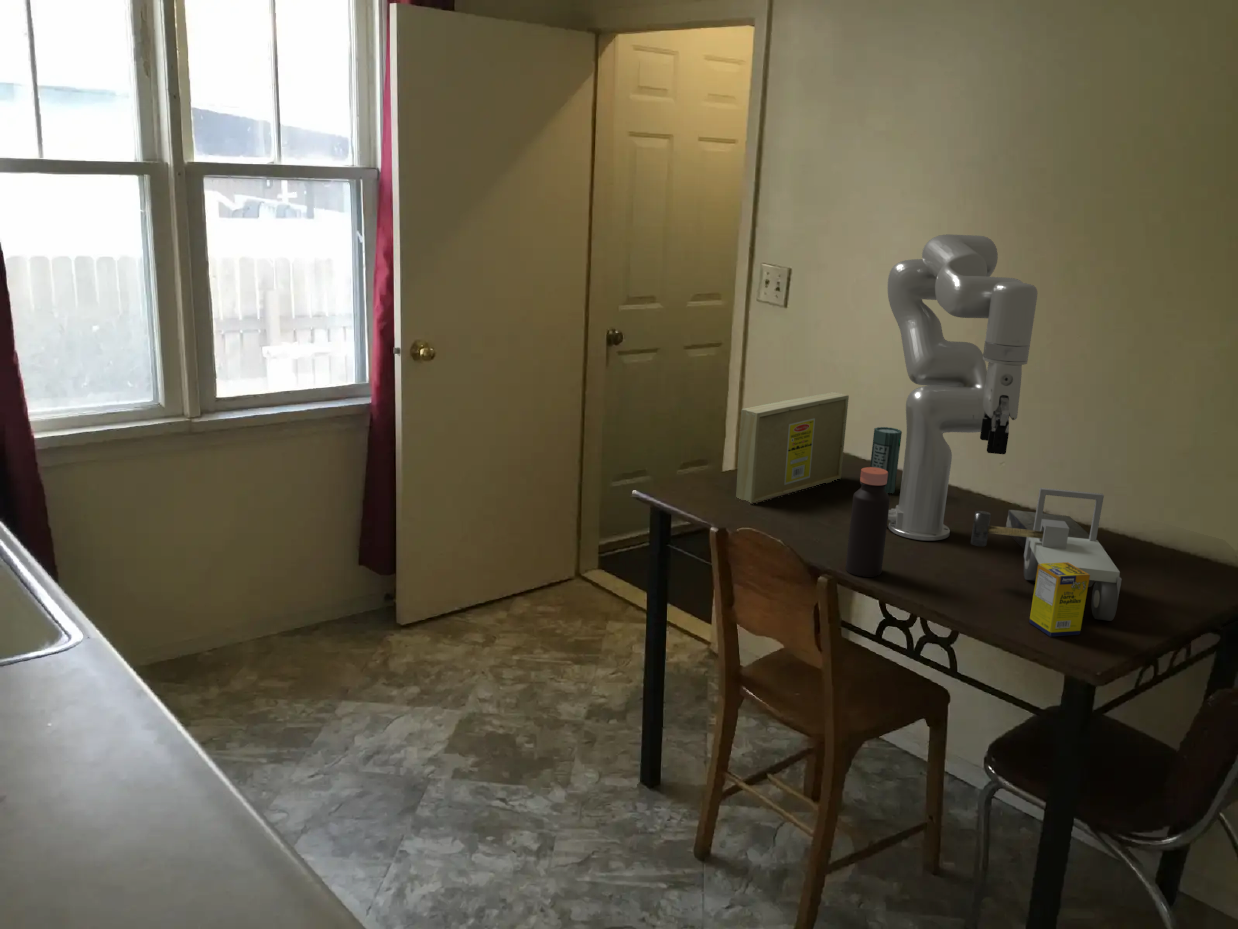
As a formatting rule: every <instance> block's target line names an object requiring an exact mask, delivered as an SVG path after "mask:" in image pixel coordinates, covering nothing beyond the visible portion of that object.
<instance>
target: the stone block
mask: <svg viewBox="0 0 1238 929" xmlns="http://www.w3.org/2000/svg"><path fill="white" fill-rule="evenodd" d="M1007 510H1008V511H1007V518H1006V523H1005V527H1007V528H1017V529H1027V530H1033V528H1034V522H1035V516H1036V511H1034V512H1033V511H1023V510H1018V509H1007ZM1042 519H1047V520H1057V521H1065V522H1066V524H1067V526H1068V527H1069V533H1068V537H1073V538H1083V539H1089V536H1090V532H1088V531H1087V530H1086V529H1085V528H1083V527H1082V526H1081V525H1080V524H1079V523H1078V522H1077V521H1075V520H1074V519H1073V518H1072V517H1071V516H1069V515H1061V514H1051V513H1044V512H1043V515H1042ZM1040 528H1041V527H1040ZM1009 536H1010V537H1011V538H1012V540H1014V541H1015V542H1016V544H1018V545H1019V546H1020V547H1021V548H1022V549H1023V551H1025V545H1026V539H1027V537H1020V536H1011V535H1009ZM1101 546H1102V547H1103V549H1104V550H1105V551H1106V548H1105V547H1104V546H1103V545H1102V544H1101Z"/></svg>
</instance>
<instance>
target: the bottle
mask: <svg viewBox="0 0 1238 929" xmlns="http://www.w3.org/2000/svg"><path fill="white" fill-rule="evenodd" d="M859 478H860V479H859V484H860V485H861V487H859V489H858V490H856V491H855V492H854V493H853V496H852V505H851V514H850V522H849V523H850V524H849V531H848V532H849V533H848V542H847V552H846V559H845V570H846V571H847V572H848V573H849V574H850V575H854V576H856V575H857V577H861V576H863V577H862V578H874V576H875V577H878V576H880V575H881V573H882V571H883V570H882V569H883V564H884V563H883V561H884V554H885V545H886V537H887V528H888V523H889V520H888V513H889V510H890V503H891V498H890V496H889V494H887V493H886V492H885V490H884V488H885V487H886V484H887V478H888V471H886V470H884V469H881V468H875V467H870V466H868V467H863V468H861V469H860V477H859ZM877 575H878V576H877Z"/></svg>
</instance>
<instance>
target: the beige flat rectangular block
mask: <svg viewBox="0 0 1238 929" xmlns="http://www.w3.org/2000/svg"><path fill="white" fill-rule="evenodd" d="M849 397H850V396H849V395H848V394H845V393H841V392H837V391H836V392H835V391H831V392H826V393H821V394H815V395H809V396H802V397H798V398H792V399H788V400H787V399H786V400H781V401H776V402H772V403H771V402H770V403H766V404H760V405H756V406H751V407H746V408H742V409H741V414H740V426H739V427H740V428H739V440H738V441H739V444H738V456H737V457H738V458H737V459H738V460H737V476H736V477H737V478H736V490H735V492H736V494H735V498H736V497H737V498H739V499H741V500H746V501H748V502H750V503H752V502H756V501H758V500H764V499H766V498H770V497H772V496H778V495H781V494H783V493H789V492H792V491H796V490H801V489H804V488H807V487H811V486H816V485H819V484H822V483H826V484H829V483H832V481H833V482H835V481H834V480H836V481H838V480H837V479H840V480H841V478H842V468H843V460H844V458H843V457H844V450H845V448H844V447H845V437H846V430H847V429H846V428H847V419H848V418H847V417H848V409H849V408H848V406H849ZM819 486H820V485H819ZM816 487H817V486H816Z"/></svg>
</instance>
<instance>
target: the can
mask: <svg viewBox="0 0 1238 929" xmlns="http://www.w3.org/2000/svg"><path fill="white" fill-rule="evenodd" d="M873 430H874V431H873V436H872V437H873V438H872V447H871V454H870V464H869V467H875V468H881V469H884V470H886V471H888V478H887V484H886V487H885V488H884V490H885V492H886V493H892V494H895V490H896V482H897V474H898V468H899V467H898V465H899V458H900V450H901V443H902V435H903V434H902V433H903V432H902V430H901V429H898V428H894V427H888V426H878V427H875V428H874V429H873Z"/></svg>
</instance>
